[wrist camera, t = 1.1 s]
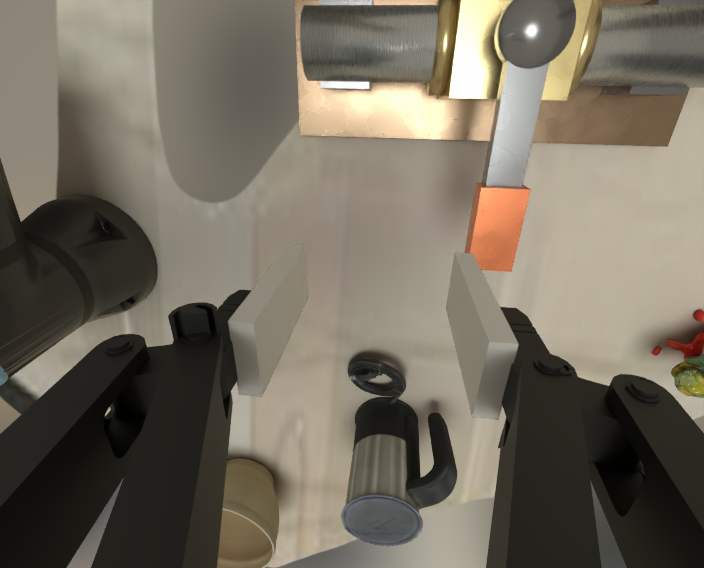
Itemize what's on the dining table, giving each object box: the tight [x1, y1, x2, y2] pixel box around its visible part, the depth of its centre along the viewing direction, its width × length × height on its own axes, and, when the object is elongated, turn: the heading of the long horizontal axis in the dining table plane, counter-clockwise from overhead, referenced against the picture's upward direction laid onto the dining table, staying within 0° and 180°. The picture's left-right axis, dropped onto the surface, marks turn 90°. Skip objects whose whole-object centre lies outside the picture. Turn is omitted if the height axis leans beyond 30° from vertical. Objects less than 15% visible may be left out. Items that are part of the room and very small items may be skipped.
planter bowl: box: [217, 458, 279, 568], centre depth 58 cm, size 16×16×11 cm
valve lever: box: [465, 0, 576, 272], centre depth 24 cm, size 17×4×2 cm, turn 179°
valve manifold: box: [295, 0, 704, 146], centre depth 28 cm, size 34×14×12 cm, turn 89°
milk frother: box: [341, 358, 457, 546], centre depth 46 cm, size 14×16×15 cm
